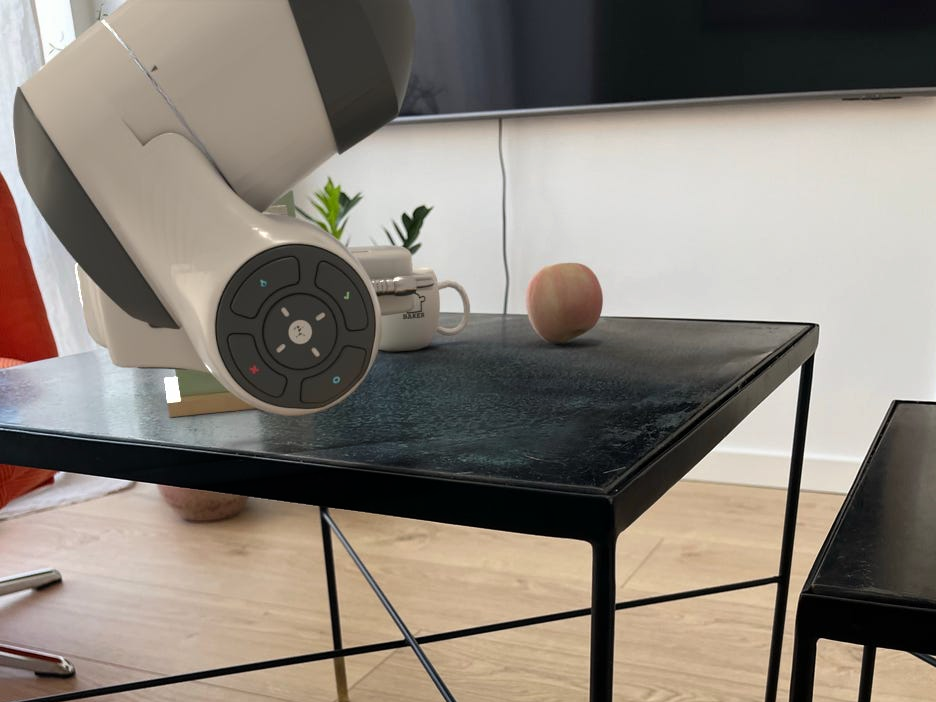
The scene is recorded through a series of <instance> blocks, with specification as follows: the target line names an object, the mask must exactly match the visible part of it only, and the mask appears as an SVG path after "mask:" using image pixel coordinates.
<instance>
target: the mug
mask: <svg viewBox="0 0 936 702" xmlns="http://www.w3.org/2000/svg"><path fill="white" fill-rule="evenodd" d="M434 271H435V270H434V269H431V268H430V267H423V266H413V272H416V273H427V274H431V275H432V276H433V279H434V281H435V283H434V285H433V289H432V290H423V291H416V293H415V294H414V295H415V306H414V308H413V309H412V310H411V311H408V312H404V313H398V314H392V315H385V316H381V323H382V327H381V341H380V346H379V350H380V351H384V352H411V351H418V350H422V349H424V348H426V347H428V346H430V345H431V344H432V342H433V340H434V339H435V337H436V334H437V333H438V334H440V335H443V336H448V337H450V336H451V337H452V336H456V335H458V334H460V333H461V332H463V331H464V330H465V328H466V327H467V325H468V324H469V320H470V316H471V304H470V298H469V296H468V294H467V292H466V290H465V288H464V287H463V286H462V285H461V284H460V283H459V282H457V281H455V280H449V279H446V280H443V281H440V282H438V278H437V275H436V273H435V272H434ZM447 288H451V289H454V290H455V291H456V292H457V293H458V294H459V297H460V298H461V301H462V305H463V313H462V314H463V315H462V319H461V321H460V323H459V324H458V325H457V326H456V327H453V328H445V327H443V326H441V325H439V320H440V313H441V312H440V311H441V298H440V290H443V289H447Z"/></svg>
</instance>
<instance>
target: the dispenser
mask: <svg viewBox="0 0 936 702" xmlns="http://www.w3.org/2000/svg"><path fill="white" fill-rule="evenodd" d="M281 205H286V207H287V216H290V217H294V218H297V214H296V207H295V197H294V190H293V189H291V190H290V191H289V192H288V193H286V194H285V195H284V196H283V197H281V198H280V199H279V200H278V201H276V202H275V203H274V204H273V205H271V206H281ZM174 371H175V373H174V374H175V376H174V377H173V376H172V377H165V378H164V384H165V391H166V392H165V393H166V402H167V403H166V405H167V409H168V415H169V418H176V417H177V418H179V417H187V416H188V417H189V416H197V415H207V414H215V413H225V412H226V413H227V412H235V411H236V412H237V411H245V410H255V409H257V408H256V407H253V406H251V405H250V404H248V403H246V402H244V401H243V400H241V399H239V398H238V397H236V396H235V395H234V394H232V393H231V392H230V391H229V390H227V389H226V388H225V387H224V386H223V385H222V384H221V383H220V382H219V381H218V380H217V379H216V378H215V377H214V376H213V375H212V374H211V373H207V372H202V371H196V370H190V369H187V370H181V369H174Z"/></svg>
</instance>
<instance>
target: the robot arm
mask: <svg viewBox="0 0 936 702" xmlns="http://www.w3.org/2000/svg"><path fill="white" fill-rule="evenodd" d="M415 43H416V18H415V14H414V10H413V7H412V4H411V2H410V0H125V1H124V2H123V3H121V4H120V6H118V7H117V8H115V9H114V10H113V11H112V12H110V13H109V14H108V15H107V16H106V17H104V18H103V19H102V20H100V19H99V20H97V21H96V22H95V23H93V24H92V25H91V26H89V27H88V28H87V29H86V30H85V31H83V32H82V33H81V34H80V35H79V36H78V37H76V38H75V39H74V40H72V41H71V42H69V44H68V45H66V46H65V47H64V48H63V49H61V50H60V51H59V52H58V53H57V54H56V55H54V56H53V57H52V58H51V59H50V60H48V61H47V63H45V64H44V65H43V66H41V67H40V68H39V69H38V70H36V72H34V74H32V75H31V76H30V77H29V78H28V79H27V80H25V81H24V82H23V83H22V84H21V85H20V86H17V88H16V91H15V95H14V101H13V105H12V106H13V109H12V131H13V139H14V149H15V150H14V151H15V156H16V163H17V169H18V173H19V176H20V178H21V180H22V183H23V185H24V186H25V189H26V191H27V193H28V195H29V196H30V198H31V200H32V202H33V203H34V205H35V207H36V208H37V210H38V212H39V213H40V215H41V217H42V218H43V220H44V221H45V222H46V224H47V225H48V227H49V228H50V230H51V231H52V233H53V234H54V235H55V237H56V238H57V239H58V241H59V242H60V243H61V245H62V247H64V249H65V250H66V252H67V253H68V254H69V255H70V256H71V258H72V259H73V260H74V261H75V262H76V264H75V266H74V267H75V269H74V270H75V274H76V275H75V276H76V282H77V284H78V285H77V287H78V291H79V292H78V293H79V297H80V302H81V303H80V304H81V308H82V311H83V317H84V321H85V326H86V330H87V332H88V335H89V336H90V338H91V339H92V340H93V342H95V344H96V345H98V346H100V347H102V348H105V349H107V351H108V354H109V357H110V361H111V363H112V364H113V365H114V366H116V367H119V368H122V369H123V368H124V369H129V368H130V369H132V368H133V369H134V368H137V369H141V370H142V369H143V370H145V369H150V370H151V369H153V370H155V369H156V370H157V369H158V370H175V369H181V370H187V369H190V370H196V371H202V372H207V373H211V374H212V375H213V376H214V377H215V378H216V379H217V380H218V381H219V382H220V383H221V384H222V385H223V386H224V387H225V388H226V389H227V390H229V391H230V392H231V393H232V394H234V395H235V396H236V397H238V398H239V399H241V400H243V401H244V402H246V403H248V404H250V405H251V406H253V407H256V409H258V410H260V411H263V412H267V413H269V414H273V415H278V416H285V417H299V416H305V415H310V414H315V413H318V412H321V411H324V410H327V409H329V408H331V407H333V406H335V405H337V404H339V403H341V402H342V401H344V400H346V398H348V397H349V396H350V395H352V393H354V392H355V391H356V390H357V388H358V387H359V386H360V385H361V384H362V382H364V381H365V379H366V377H367V375H368V374H369V372H370V370H371V368H372V366H373V365H374V363H375V360H376V358H377V355H378V352H379V350H380V349H379V346H380V341H381V327H382V323H381V316H385V315H392V314H398V313H404V312H408V311H411V310H412V309H413V308H414V306H415V295H414V294H415V293H416V291H423V290H432V289H433V285H434V283H435V281H434V279H433V276H432V275H431V274H427V273H416V272H413V267H414V265H413V255H412V252H410V250H409V249H408V248H406V247H404V246H401V245H397V244H395V245H394V244H383V245H366V246H353V247H352V246H348V247H347V246H346V244H344V243H343V242H342V241H341V240H339V239H338V237H336V236H334V235H332V233H330V232H328V231H327V230H326V229H323V228H321V227H320V226H318V225H316V224H314V223H311V222H309V221H307V220H304V219H301V218H298V217H296V218H294V217H290V216H285V215H280V214H274V213H269V212H264V211H265V210H266V209H268V208H269V207H270V206H271V205H273V204H274V203H275V202H276V201H278V200H279V199H280V198H281V197H283V196H284V195H285V194H286V193H288V192H289V191H290V190H293V189H294V188H295V187H297V186H298V185H299V184H300V183H302V182H303V181H305V179H307V178H308V177H309V176H311V175H312V174H313V173H314V172H315V171H316V170H318V169H319V168H320V167H322V166H323V165H324V164H326V162H328V161H329V160H330V159H331V158H333V157H334V156H335V155H336V154H338V155H339V156H341V155H342V154H344V153H345V152H347V151H348V150H350V149H352V148H353V147H354V146H356V145H357V144H359V143H361V142H362V141H364V140H365V139H367V138H368V137H370V136H372V134H375V133H376V132H377V131H379V130H381V129H382V128H384V127H385V126H387V125H388V124H390V123H391V122H393V121H394V120H396V119H397V118H398V117H399V115H400V111H401V108H402V105H403V102H404V99H405V97H406V92H407V89H408V85H409V81H410V76H411V72H412V66H413V60H414V54H415V53H414V52H415Z"/></svg>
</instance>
